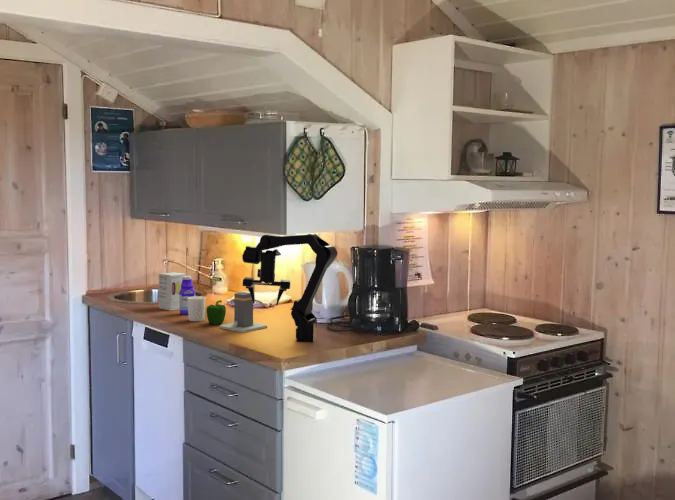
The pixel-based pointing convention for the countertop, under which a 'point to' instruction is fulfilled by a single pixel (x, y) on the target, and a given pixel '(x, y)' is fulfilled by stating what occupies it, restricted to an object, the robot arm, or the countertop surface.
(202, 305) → the white cup
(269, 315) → the countertop surface
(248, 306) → the plug block
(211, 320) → the bell pepper
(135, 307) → the countertop surface
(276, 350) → the countertop surface
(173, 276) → the supplement box
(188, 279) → the bottle
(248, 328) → the board
